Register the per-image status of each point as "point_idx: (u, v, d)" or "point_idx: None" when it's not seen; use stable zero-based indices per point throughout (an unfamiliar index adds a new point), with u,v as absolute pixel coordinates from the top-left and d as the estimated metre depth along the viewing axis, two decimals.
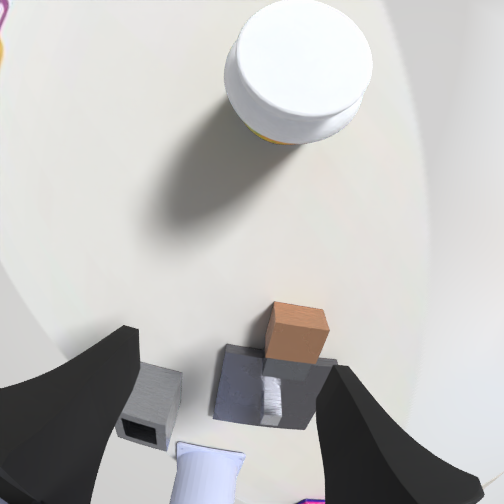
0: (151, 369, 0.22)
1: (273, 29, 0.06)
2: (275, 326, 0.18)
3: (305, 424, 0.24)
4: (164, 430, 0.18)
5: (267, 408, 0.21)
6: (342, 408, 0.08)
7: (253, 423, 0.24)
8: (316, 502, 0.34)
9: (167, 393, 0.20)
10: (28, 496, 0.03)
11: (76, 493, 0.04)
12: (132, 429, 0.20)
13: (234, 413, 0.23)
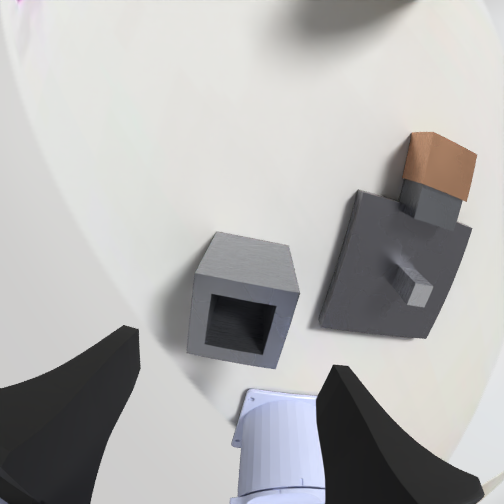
0: (244, 240, 0.17)
1: None
2: (433, 137, 0.12)
3: (429, 328, 0.18)
4: (293, 307, 0.12)
5: (413, 278, 0.15)
6: (342, 408, 0.08)
7: (373, 329, 0.18)
8: None
9: (281, 261, 0.15)
10: (28, 496, 0.03)
11: (76, 493, 0.04)
12: (214, 335, 0.14)
13: (353, 311, 0.18)
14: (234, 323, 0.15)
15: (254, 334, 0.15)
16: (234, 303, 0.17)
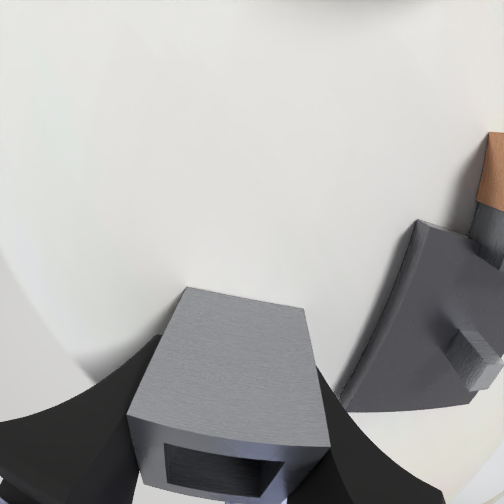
0: (230, 304, 0.10)
1: None
2: None
3: (475, 392, 0.11)
4: (315, 461, 0.05)
5: (482, 354, 0.08)
6: None
7: (410, 406, 0.12)
8: None
9: (294, 354, 0.08)
10: None
11: None
12: (184, 464, 0.07)
13: (390, 391, 0.11)
14: None
15: (247, 458, 0.08)
16: None
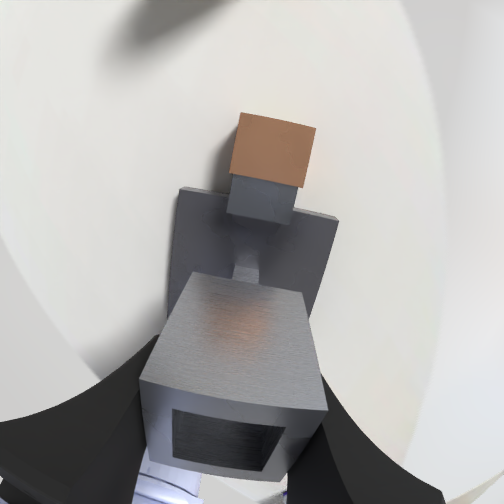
0: (234, 287, 0.11)
1: None
2: (240, 118, 0.13)
3: None
4: (314, 427, 0.06)
5: (236, 279, 0.15)
6: None
7: None
8: None
9: (293, 330, 0.09)
10: None
11: None
12: (189, 440, 0.08)
13: None
14: None
15: (249, 434, 0.09)
16: None
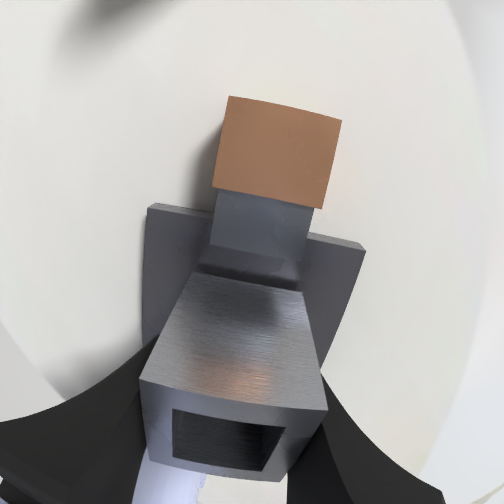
0: (233, 286, 0.11)
1: None
2: (229, 105, 0.08)
3: None
4: (314, 427, 0.06)
5: None
6: None
7: None
8: None
9: (293, 330, 0.09)
10: None
11: None
12: (189, 440, 0.08)
13: None
14: None
15: (249, 434, 0.09)
16: None
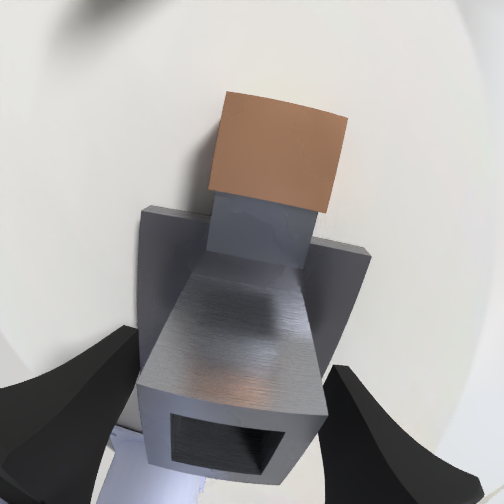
0: (233, 288, 0.11)
1: None
2: (226, 101, 0.08)
3: None
4: (314, 432, 0.06)
5: None
6: (342, 408, 0.08)
7: None
8: None
9: (293, 333, 0.09)
10: (28, 496, 0.03)
11: (76, 493, 0.04)
12: (188, 443, 0.08)
13: None
14: None
15: (248, 437, 0.08)
16: None
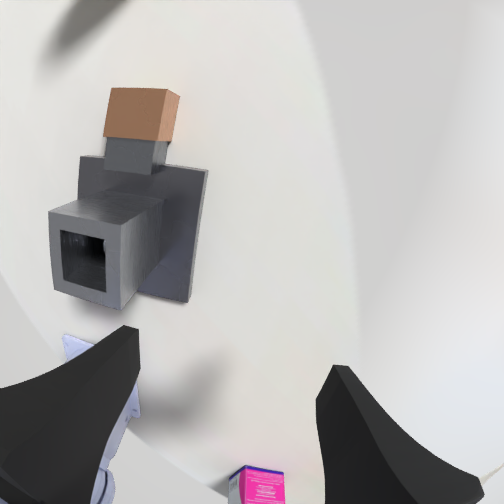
0: (121, 195, 0.17)
1: None
2: (111, 92, 0.13)
3: (185, 290, 0.19)
4: (118, 241, 0.12)
5: None
6: (342, 408, 0.08)
7: None
8: (260, 472, 0.29)
9: (137, 207, 0.15)
10: (28, 496, 0.03)
11: (76, 493, 0.04)
12: (76, 275, 0.14)
13: None
14: (100, 268, 0.15)
15: None
16: None
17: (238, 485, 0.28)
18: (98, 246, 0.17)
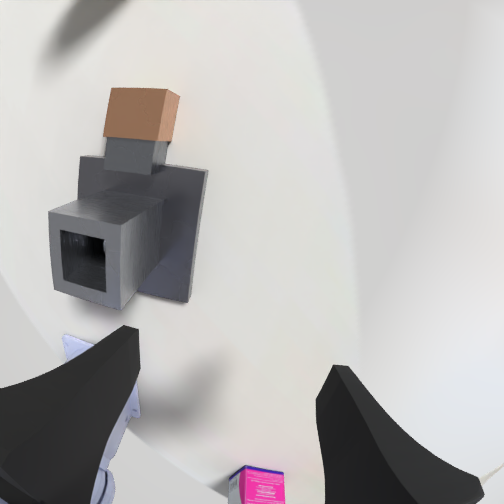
0: (121, 195, 0.17)
1: None
2: (111, 92, 0.13)
3: (185, 290, 0.19)
4: (118, 241, 0.12)
5: None
6: (342, 408, 0.08)
7: None
8: (260, 472, 0.29)
9: (137, 207, 0.15)
10: (28, 496, 0.03)
11: (76, 493, 0.04)
12: (76, 275, 0.14)
13: None
14: (100, 268, 0.15)
15: None
16: None
17: (238, 485, 0.28)
18: (98, 246, 0.17)
